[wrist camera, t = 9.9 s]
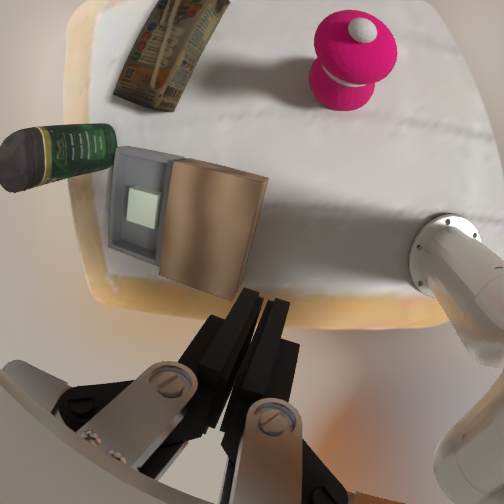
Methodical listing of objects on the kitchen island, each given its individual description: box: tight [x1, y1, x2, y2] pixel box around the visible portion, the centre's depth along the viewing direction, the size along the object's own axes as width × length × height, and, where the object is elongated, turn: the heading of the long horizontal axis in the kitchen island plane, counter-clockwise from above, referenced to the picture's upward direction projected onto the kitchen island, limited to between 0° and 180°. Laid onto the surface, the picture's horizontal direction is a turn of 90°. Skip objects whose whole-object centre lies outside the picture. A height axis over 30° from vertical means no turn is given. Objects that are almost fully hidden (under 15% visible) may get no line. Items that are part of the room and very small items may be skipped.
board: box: [159, 159, 269, 301], centre depth 37 cm, size 11×16×5 cm
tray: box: [108, 146, 184, 267], centre depth 39 cm, size 10×16×3 cm, turn 166°
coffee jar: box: [0, 124, 117, 193], centre depth 30 cm, size 10×8×19 cm
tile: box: [127, 186, 163, 229], centre depth 39 cm, size 5×5×2 cm
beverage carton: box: [113, 0, 230, 112], centre depth 28 cm, size 8×19×7 cm, turn 155°
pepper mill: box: [309, 10, 397, 111], centre depth 20 cm, size 7×7×20 cm
